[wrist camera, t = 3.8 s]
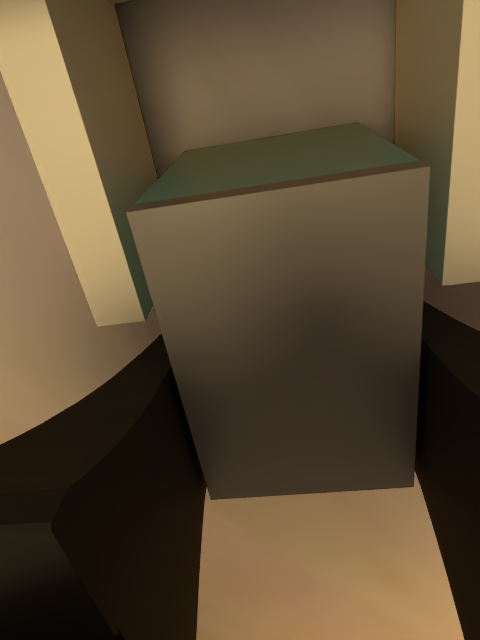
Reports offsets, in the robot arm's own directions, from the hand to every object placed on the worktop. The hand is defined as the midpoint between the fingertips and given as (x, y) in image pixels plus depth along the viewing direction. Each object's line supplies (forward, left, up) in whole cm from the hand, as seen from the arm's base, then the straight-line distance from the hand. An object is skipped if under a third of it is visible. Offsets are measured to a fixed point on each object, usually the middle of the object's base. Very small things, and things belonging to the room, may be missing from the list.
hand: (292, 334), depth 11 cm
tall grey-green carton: (+1, 0, -1) cm, 2 cm away
